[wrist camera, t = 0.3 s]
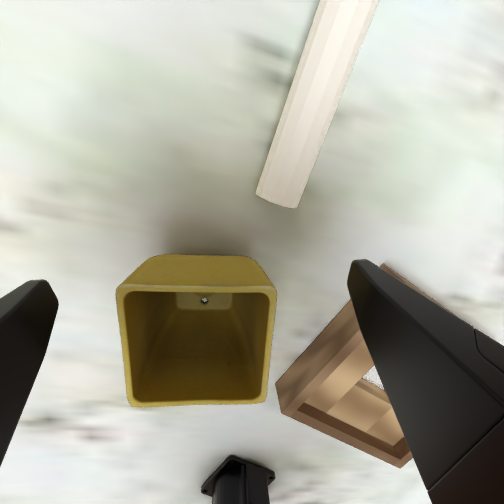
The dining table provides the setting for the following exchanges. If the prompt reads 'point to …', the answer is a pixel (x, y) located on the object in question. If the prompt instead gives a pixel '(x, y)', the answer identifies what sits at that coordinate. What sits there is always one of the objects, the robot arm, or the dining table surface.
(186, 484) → the dining table surface
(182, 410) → the dining table surface
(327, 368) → the bore box
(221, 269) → the flower pot
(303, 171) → the white piece
